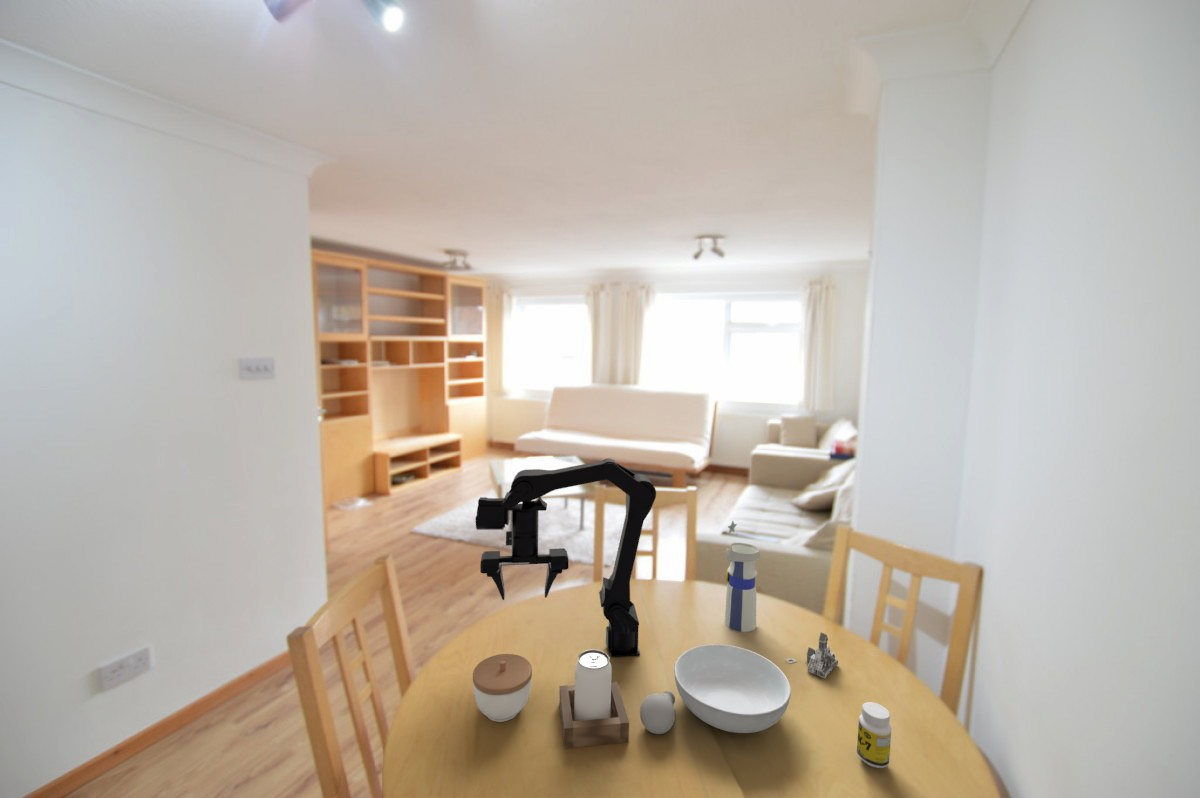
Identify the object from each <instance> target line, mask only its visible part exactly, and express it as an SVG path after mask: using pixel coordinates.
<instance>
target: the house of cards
mask: <svg viewBox="0 0 1200 798" xmlns="http://www.w3.org/2000/svg"><path fill="white" fill-rule="evenodd" d="M828 641H829V637H828V635H827V634H825V633H824V632H820V634H819V639H818V647H817V648H816V649H814V648H812V647H809V646H808V648H807V651H806V664H807V668H806V670H807V672H809V673H811V674H814V675H815V676H818V677H821V678H823V679H826V677H827V676H828V675H829V674H830V673H832V672H833V669H835V668H836V666H838V665H839V659H838V658H836V655H835V652H832V651H831V649H830V646H829V645H828ZM785 661H787V663H789V664H792V663H795V662H796V660H795V659H794V658H788V659H785ZM830 671H831V672H830Z"/></svg>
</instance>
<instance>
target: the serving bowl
mask: <svg viewBox="0 0 1200 798" xmlns="http://www.w3.org/2000/svg"><path fill="white" fill-rule="evenodd" d="M673 674H674V681H675V686H676V689H677V692H678V695H679V696H680V698H681V700H682V702H683V703H684V705H685V706H686V707H687V708H688V709H689V711H691V713H692V714H693V715H695V716H696V717H697V718H698V719H700V720H701V721H702V722H704V723H706V724H708V725H709V726H710V727H711V726H712V727H714V728H716V729H720V730H722V731H724V732H725V731H726V732H728V733H729V732H730V733H735V734H736V733H738V734H751V733H758V732H761V731H764V730H767V729H768V728H771V727H772V726H774V725H775V724H776V723H777V722H780V720H781V718H782V717H783V716H784V714H785V713H786V711H787V709H788V707H789V704H790V703H789V702H790V699H791V695H792V688H791V684H790V682H789V680H788V678H787V675H786V674H785V673H784V672H783V670H781V668H779V667H778V665H776V664H775V663H774V662H772V661H771V660H769V659H768V658H766V657H765V656H763V655H761V654H759V653H757V652H754V651H752V650H749V649H746V648H743V647H739V646H736V645H730V644H718V643H717V644H713V643H711V644H703V645H698V646H695V647H692V648H689V649H687V650H686V651H684V652H683V653H681V654H680V656H679V657H678V658H677V659H676V661H675V663H674V668H673Z"/></svg>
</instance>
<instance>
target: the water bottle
mask: <svg viewBox="0 0 1200 798" xmlns="http://www.w3.org/2000/svg"><path fill="white" fill-rule="evenodd" d="M737 525H738V524H737V523H735V522H734V520H732V521H731V524H730V525H728V526H727V527H728V529H729V531H728V534H731V533H736V532H735V528H736V526H737ZM725 556H726V557H725V558H726V560H727V561H729V562H730V564H729V566H728V568H727V570H726V572H725V573H726V574H725V581H726V583H727V585H726V595H725V596H726V597H725V610H724V619H723V620H724V622H723V623H724V624H725V626H726V625H727V626H726V627H728V628H729V629H731V630H732V631H733V630H734V631H736V632H739V633H741V632H742V633H750V632H752V631H755V630H756V629H757V587H756V577H757V575H758V571H757V570H756V561H758V560H759V559H760V558H761V554H760V549H759V548H758V547H757V546H755V545H752V544H748V543H744V542H733V543H731V549H729V548H728V547H727V548H726V549H725Z"/></svg>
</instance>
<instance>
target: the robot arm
mask: <svg viewBox="0 0 1200 798" xmlns="http://www.w3.org/2000/svg"><path fill="white" fill-rule="evenodd" d="M601 481H609V482H611V484H613V485H614V486H616V487H617V488H618V489H619V490H620V491H622V492H623V493H625V517H624V520H623V526H622V529H621V530H622V531H621V534H620V539H619V543H618V548H617V552H616V556H615V562H614V565H613V566H614V567H613V570H612V573H611V575H610V576H609V578H606V577H605V576H604V577H602V586H601V589H600V590H599V592H598V594H599V601H600V607H601V608H602V611H603V613H602V614H603V616H604V618H605V619H606V620H607V621H608V626H606V629H605V645H606V648H607V649H606V650H608V651H609V655H610V657H611V658H618V657H621V658H622V657H634V656H641V652H640V649H639V626H640V622H639V618H638V614H637V611H636V607H635V603H634V602H632V601H631V577H632V574H633V569H634V565H635V560H636V556H637V551H638V547H639V543H640V538H641V535H642V530H643V526H644V522H645V520H646V518H647V517H648V515H649V513H650V512H651V509H652V508H653V506H654V502H655V500H656V497H657V490H656V488H655V486H654V484H653V483H652V482H651V480H650V479H649V477H648V476H646V475H644V474H641V473H640V474H639V473H637V474H636V473H635V472H633V471H631V470H630V469H628V468H626V467H625V466H623V465H621V464H619V463H618V462H616V460H614V459H613V458H604V459H603V460H599V461H593V462H588V463H583V464H577V465H573V466H568V467H563V468H557V469H538V468H534V469H523V470H520V471H518V472H517V473H516V474H515V476H514V478H513V481H512V482H511V485H510V490H508V492H506V494H505V496H504V497H501V498H500V497H499V498H497V497H495V498H494V497H493V498H491V497H486V496H481V497H479V499H478V500H477V504H478V505H477V509H476V516H475V529H476V530H477V531H478V530H479V531H483V530H484V531H486V530H488V531H492V530H493V531H496V530H497V531H498V530H500V531H501V530H502V531H503V530H504V528H506V526H508V525H510V518H511V530H510V531H507V530H506V531H505V546H509V547H510V546H511V555H501V551H500V550H489V551H483V553H482V554H481V557H480V568H479V569H480V574H483V575H485V574H486V577H488V578H491V579H492V580H493V582H494V584H495V586H496V587H497V589H498V593H499V594H500V597H501V599H502V601H505V597H506V596H505V592H506V591H505V584H504V576H503V566H504V567H505V566H519V565H520V566H521V565H522V566H524V565H544V564H545V565H547V567H546V569H547V570H546V576H545V583H544V584H545V585H544V598H548V596H549V593H550V592H551V591H550V590H551V587H552V586H553V584H554V582H555V580H556V578H557V576H558V575H559V574H562V573H563V571H566V570H568V569H569V555H568V550H567V549H566V548H565V547H564V548H561V547H560V548H549V551H548V554H539V511H542V512H543V511H544V512H545V511H547V509H548V508H547V507H548V503H547V502H546V501H544V500H543V499H542V497H543V496H545V495H548V494H549V493H551V492H553V491H556V490H560V489H561V490H562V489H565V488H571V487H576V486H580V485H581V486H582V485H586V484H591V483H596V482H601ZM510 513H511V514H510ZM510 515H511V517H510Z"/></svg>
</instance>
